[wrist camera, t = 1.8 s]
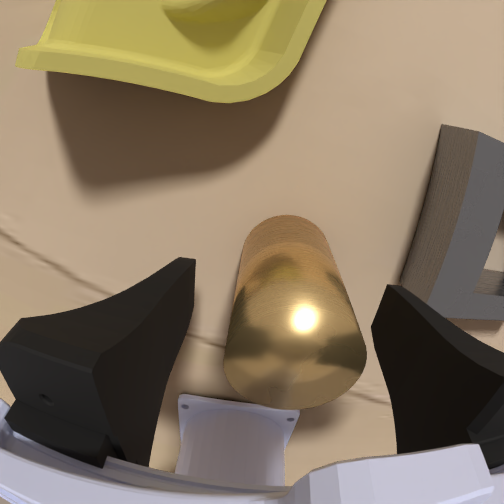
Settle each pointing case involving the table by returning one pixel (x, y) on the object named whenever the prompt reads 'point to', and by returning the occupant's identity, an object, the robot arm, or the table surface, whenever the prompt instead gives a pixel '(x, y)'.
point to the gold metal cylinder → (291, 320)
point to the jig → (460, 229)
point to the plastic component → (178, 43)
